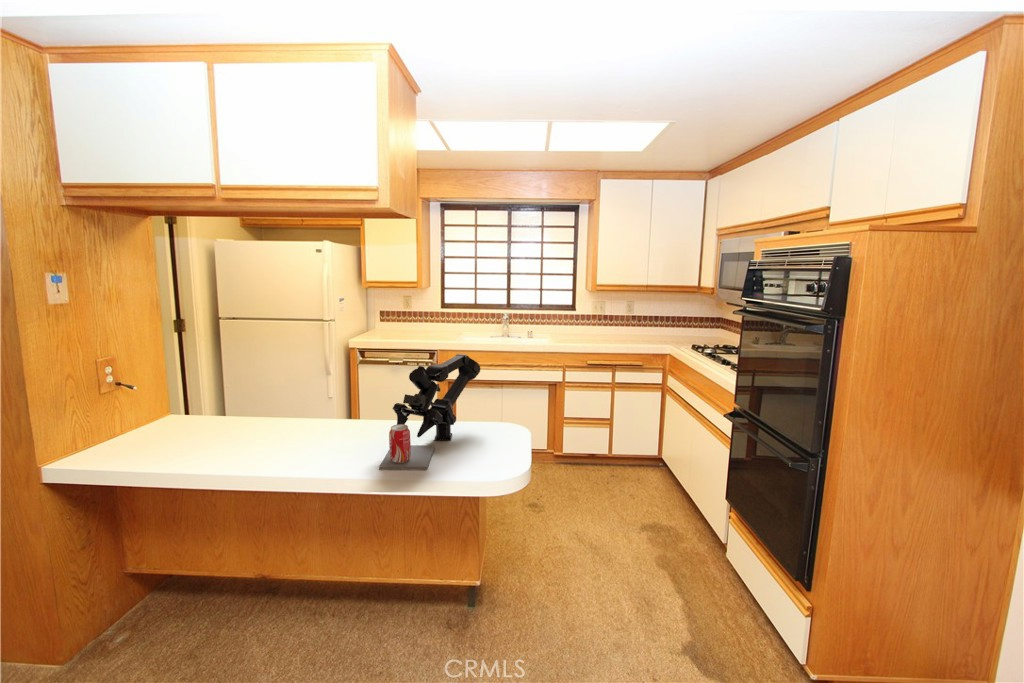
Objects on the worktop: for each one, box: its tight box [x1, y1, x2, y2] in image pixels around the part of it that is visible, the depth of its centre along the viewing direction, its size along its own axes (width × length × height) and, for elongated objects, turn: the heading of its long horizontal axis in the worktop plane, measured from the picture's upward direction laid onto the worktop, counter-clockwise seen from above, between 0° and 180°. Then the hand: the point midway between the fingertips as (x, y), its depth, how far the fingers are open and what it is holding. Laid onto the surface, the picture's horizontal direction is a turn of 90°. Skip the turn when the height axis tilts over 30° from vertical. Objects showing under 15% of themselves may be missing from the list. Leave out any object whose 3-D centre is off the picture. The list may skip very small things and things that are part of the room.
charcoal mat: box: [378, 444, 436, 471], centre depth 159 cm, size 18×16×1 cm
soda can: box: [388, 423, 412, 463], centre depth 154 cm, size 7×7×12 cm
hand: (407, 434), depth 158 cm, fingers open, 9 cm apart
